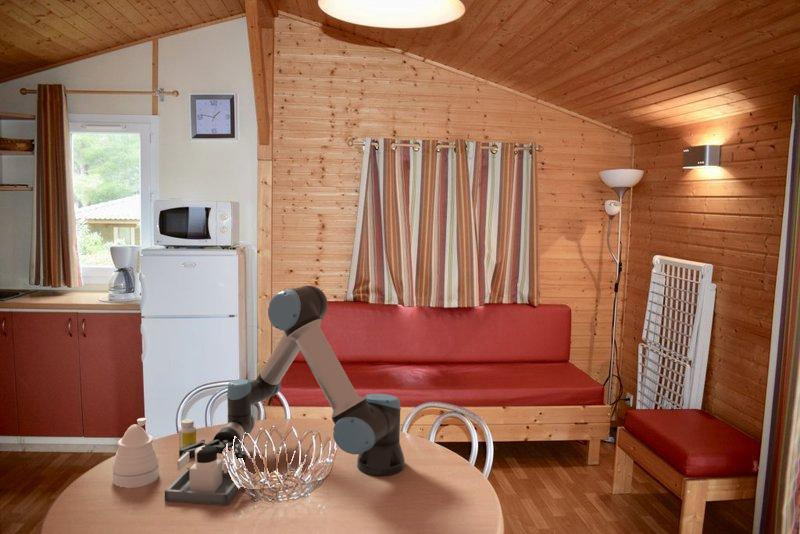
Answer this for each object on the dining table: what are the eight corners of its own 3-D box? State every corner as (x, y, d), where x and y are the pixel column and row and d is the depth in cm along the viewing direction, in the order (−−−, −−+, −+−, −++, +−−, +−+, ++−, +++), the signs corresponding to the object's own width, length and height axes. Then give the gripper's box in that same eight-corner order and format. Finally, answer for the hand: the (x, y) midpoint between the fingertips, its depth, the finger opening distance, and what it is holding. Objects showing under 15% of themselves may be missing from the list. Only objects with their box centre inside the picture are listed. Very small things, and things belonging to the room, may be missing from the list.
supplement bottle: (199, 448, 212) (199, 420, 211) (186, 453, 208) (186, 425, 206) (189, 444, 215) (188, 417, 214) (175, 449, 210) (175, 421, 209)
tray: (245, 481, 188) (245, 471, 188) (227, 505, 174) (227, 495, 173) (187, 477, 190) (187, 467, 190) (164, 501, 175) (164, 490, 175)
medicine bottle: (222, 482, 185) (222, 443, 184) (213, 494, 178) (213, 453, 177) (199, 481, 186) (198, 442, 184) (189, 492, 178) (188, 452, 177)
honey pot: (154, 465, 198) (152, 410, 196) (163, 481, 187) (162, 423, 185) (109, 474, 191) (107, 417, 189) (116, 491, 180) (114, 431, 178)
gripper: (267, 452, 198) (244, 482, 177) (191, 447, 200) (159, 477, 179) (267, 429, 197) (244, 457, 176) (190, 425, 199) (159, 451, 178)
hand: (201, 467), depth 178 cm, fingers open, 13 cm apart
